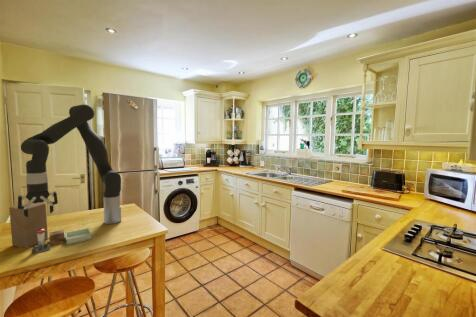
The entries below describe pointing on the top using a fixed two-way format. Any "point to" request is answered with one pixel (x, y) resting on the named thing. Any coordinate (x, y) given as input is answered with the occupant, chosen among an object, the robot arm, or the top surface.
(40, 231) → the pin
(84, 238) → the tray
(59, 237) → the block
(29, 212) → the wooden block
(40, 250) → the pin socket
